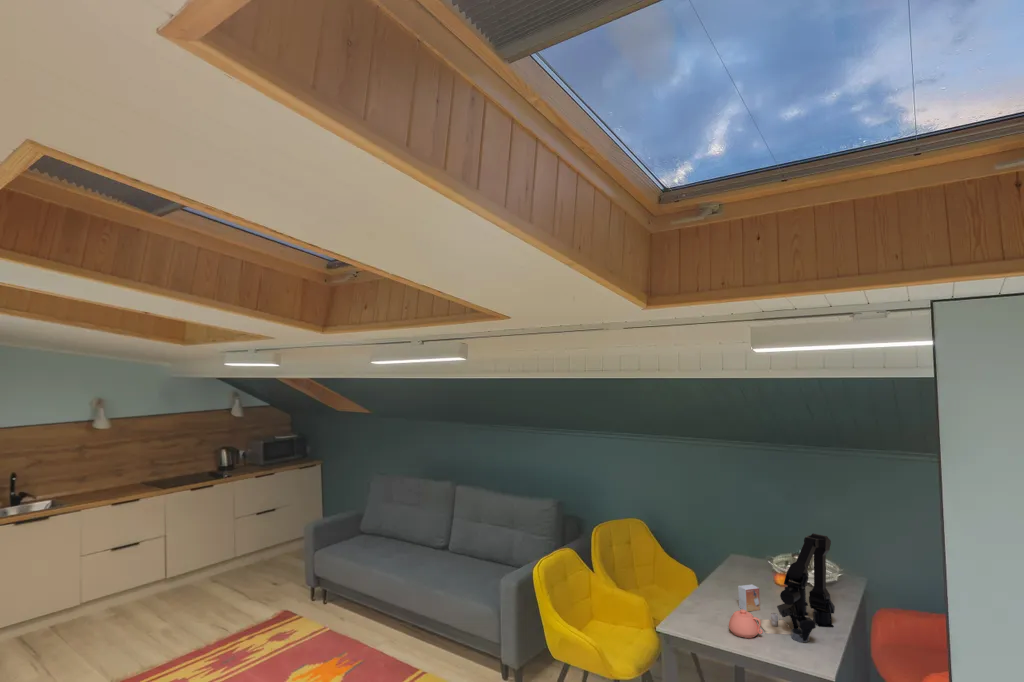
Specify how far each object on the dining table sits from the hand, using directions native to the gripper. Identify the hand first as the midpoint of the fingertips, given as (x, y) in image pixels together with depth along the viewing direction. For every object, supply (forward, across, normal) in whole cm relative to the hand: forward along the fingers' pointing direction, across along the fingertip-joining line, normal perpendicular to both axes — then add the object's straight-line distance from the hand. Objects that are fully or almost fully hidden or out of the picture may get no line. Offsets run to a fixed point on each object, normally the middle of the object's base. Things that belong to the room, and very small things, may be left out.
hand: (800, 635), depth 237 cm
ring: (+1, 0, 0) cm, 1 cm away
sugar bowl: (+2, -2, -22) cm, 22 cm away
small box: (+2, -30, -12) cm, 32 cm away
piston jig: (+1, -10, -7) cm, 12 cm away
